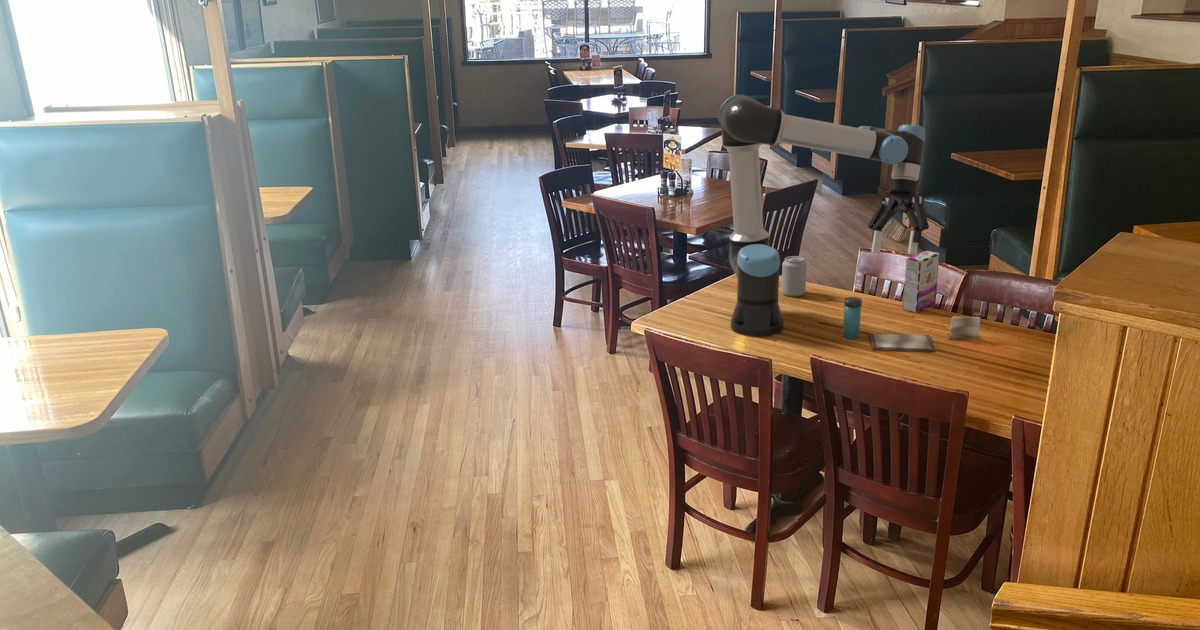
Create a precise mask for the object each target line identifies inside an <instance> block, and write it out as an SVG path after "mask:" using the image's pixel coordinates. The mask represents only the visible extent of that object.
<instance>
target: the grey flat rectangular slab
mask: <svg viewBox="0 0 1200 630" xmlns="http://www.w3.org/2000/svg"><path fill="white" fill-rule="evenodd" d="M868 337H869V341H870V343H871V348H872V350H873V351H882V352H883V351H884V352H886V351H887V352H888V351H889V352H891V351H892V352H913V353H915V352H916V353H917V352H918V353H937V349H936V348H935V345H934V340H933V338H932V336H931V335H925V334H903V333H902V334H898V333H897V334H896V333H868Z"/></svg>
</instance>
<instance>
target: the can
mask: <svg viewBox="0 0 1200 630" xmlns="http://www.w3.org/2000/svg"><path fill="white" fill-rule="evenodd" d="M805 260H806V258H805V257H804V256H803V257H802V256H798V255H792V256H791V255H790V256H786V257H785V258H784V261H782V266H781V267H782V268H781V271H782V272H781V293H782V294H783V295H785V296H787V297H792V298H795V297H796V298H798V297H802V296H803V295H804V294H805V293H806V283H807V265H808V263H807V262H806V261H805Z"/></svg>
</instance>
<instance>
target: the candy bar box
mask: <svg viewBox="0 0 1200 630" xmlns="http://www.w3.org/2000/svg"><path fill="white" fill-rule="evenodd" d="M905 261H906V262H905V273H904V288H903V289H904V291H903V303H902V310H903V309H905V310H908V311H907V312H910V311H912V312H911V313H914V312H916V313H915V314H918V313H920V312H922V311H924V310H925V309H924V308H926V309H928V308H930V307H932V306H934V305H936V297H937V287H938V275H939V264H940V263H939V262H940V252H934V251H930V250H924V251H922V252H920V253H917V255H912V256H909V257H907V258H906V259H905ZM923 309H924V310H923ZM905 310H904V311H905ZM921 310H922V311H921ZM919 311H920V312H919ZM917 312H918V313H917Z"/></svg>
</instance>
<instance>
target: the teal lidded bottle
mask: <svg viewBox="0 0 1200 630" xmlns="http://www.w3.org/2000/svg"><path fill="white" fill-rule="evenodd" d="M843 302H844V309H843V310H844V311H843V327H842V337H843V339H846V340H858V339H859V338H860V328H861V314H862V313H861V312H862V304H863V299H862V298H860V297H858V296H857V297H856V296H847V297H845V298H844V301H843Z"/></svg>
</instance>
